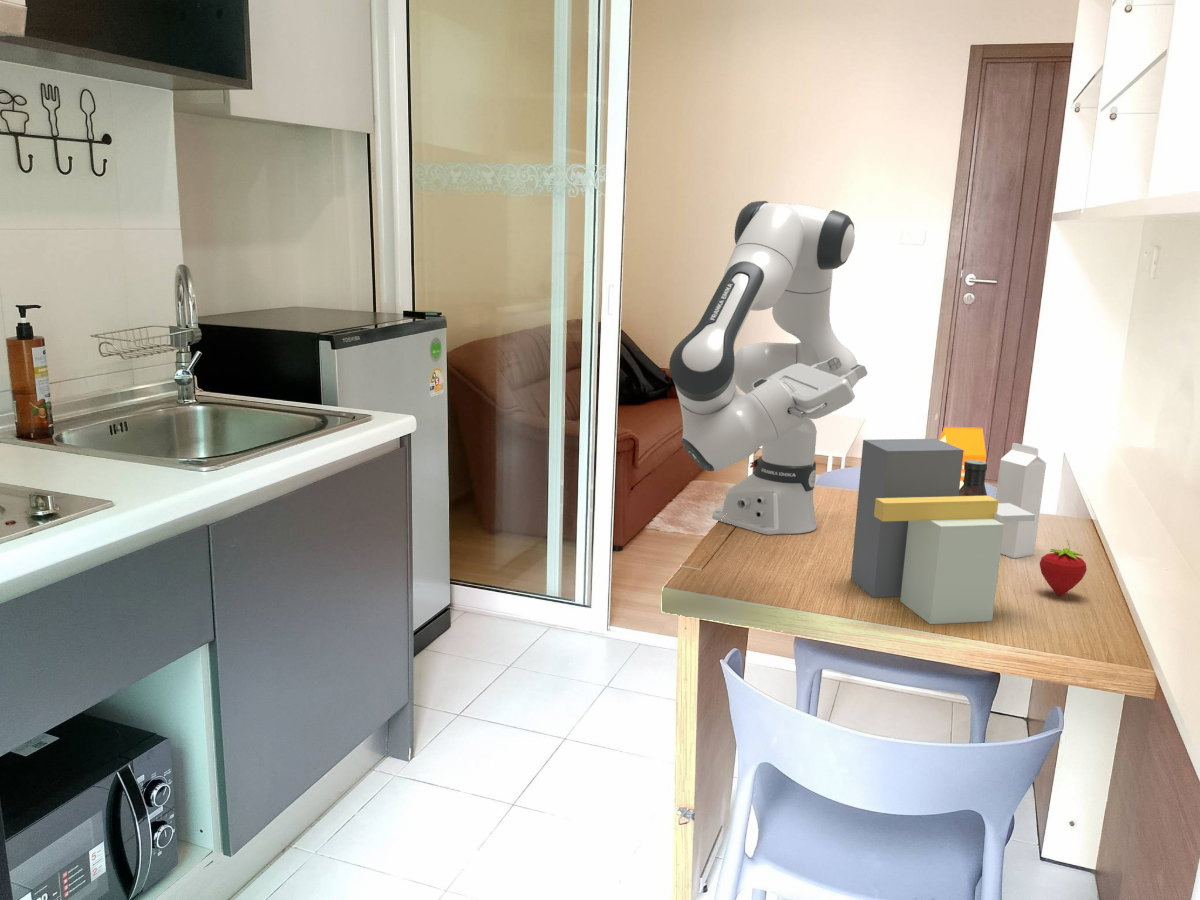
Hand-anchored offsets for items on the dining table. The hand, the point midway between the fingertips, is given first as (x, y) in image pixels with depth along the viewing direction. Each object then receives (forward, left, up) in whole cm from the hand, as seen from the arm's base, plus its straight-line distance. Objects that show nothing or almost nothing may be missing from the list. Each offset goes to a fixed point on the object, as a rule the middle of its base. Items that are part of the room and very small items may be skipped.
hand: (851, 364), depth 155 cm
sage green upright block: (+17, +7, -40) cm, 45 cm away
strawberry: (+31, +27, -41) cm, 58 cm away
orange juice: (+2, +69, -41) cm, 81 cm away
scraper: (+17, +6, -24) cm, 30 cm away
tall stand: (+7, +13, -40) cm, 43 cm away
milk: (+19, +47, -41) cm, 65 cm away
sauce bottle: (+13, +35, -41) cm, 56 cm away
